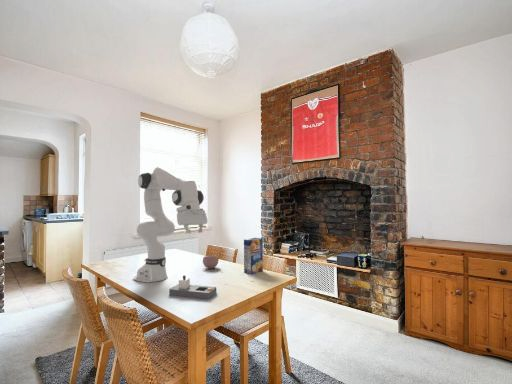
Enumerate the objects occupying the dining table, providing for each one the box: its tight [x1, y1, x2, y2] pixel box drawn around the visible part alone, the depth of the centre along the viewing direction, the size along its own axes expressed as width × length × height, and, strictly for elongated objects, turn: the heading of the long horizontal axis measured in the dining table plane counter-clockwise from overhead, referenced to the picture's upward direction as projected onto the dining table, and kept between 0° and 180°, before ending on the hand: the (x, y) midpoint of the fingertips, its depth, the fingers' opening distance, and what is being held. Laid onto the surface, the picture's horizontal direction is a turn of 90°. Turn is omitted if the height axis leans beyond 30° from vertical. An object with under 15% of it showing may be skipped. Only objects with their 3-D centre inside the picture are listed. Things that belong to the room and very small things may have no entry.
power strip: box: [168, 283, 217, 300], centre depth 154 cm, size 24×10×5 cm, turn 74°
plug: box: [178, 275, 191, 289], centre depth 156 cm, size 4×4×10 cm
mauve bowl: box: [202, 252, 220, 269], centre depth 213 cm, size 12×12×12 cm
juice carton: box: [243, 237, 264, 275], centre depth 202 cm, size 12×8×24 cm, turn 135°
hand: (194, 232), depth 150 cm, fingers open, 8 cm apart
